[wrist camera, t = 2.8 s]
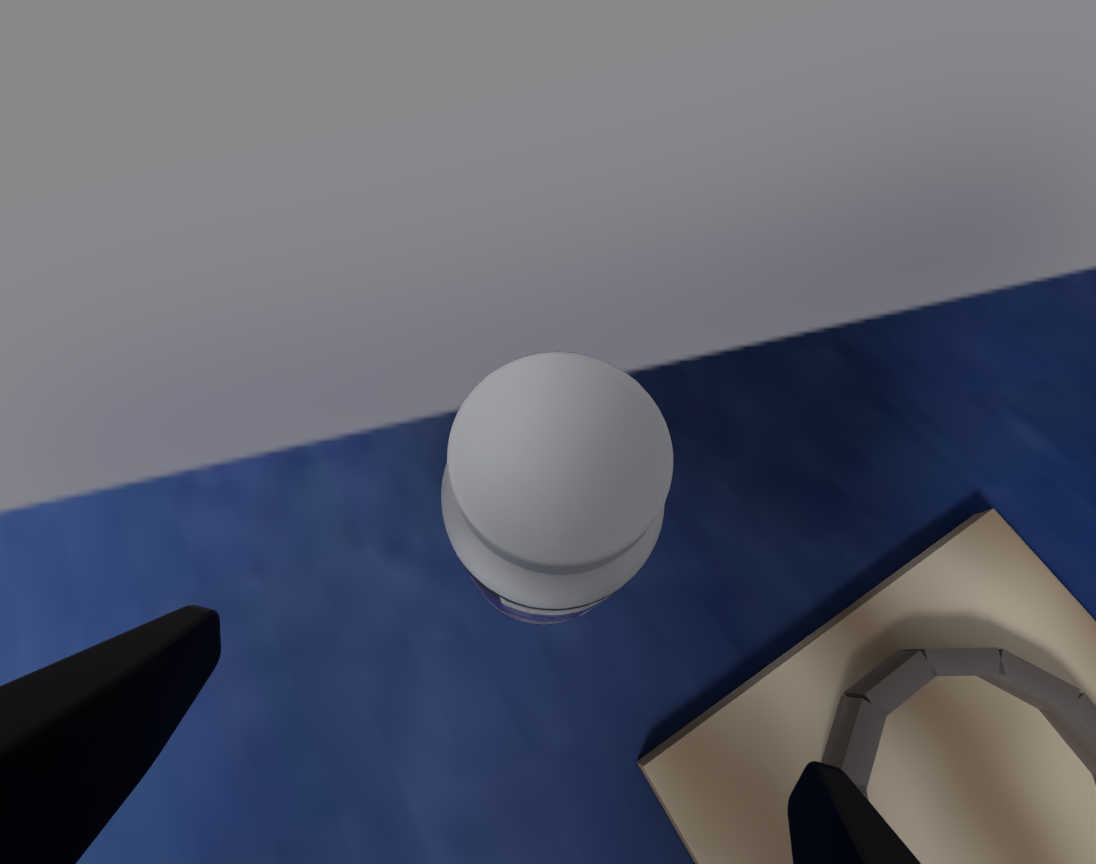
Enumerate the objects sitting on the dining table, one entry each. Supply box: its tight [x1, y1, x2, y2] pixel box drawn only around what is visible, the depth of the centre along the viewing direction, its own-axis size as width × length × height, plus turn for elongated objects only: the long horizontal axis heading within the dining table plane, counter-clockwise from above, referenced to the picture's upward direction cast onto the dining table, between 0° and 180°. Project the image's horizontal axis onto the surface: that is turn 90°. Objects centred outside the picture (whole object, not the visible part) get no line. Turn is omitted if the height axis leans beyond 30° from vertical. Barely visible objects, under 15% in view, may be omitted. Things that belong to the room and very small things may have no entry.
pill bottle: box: [441, 352, 673, 624], centre depth 16 cm, size 6×6×10 cm
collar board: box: [637, 508, 1096, 864], centre depth 17 cm, size 16×13×2 cm
